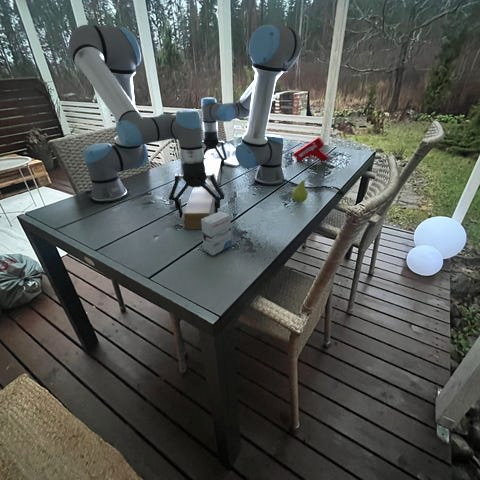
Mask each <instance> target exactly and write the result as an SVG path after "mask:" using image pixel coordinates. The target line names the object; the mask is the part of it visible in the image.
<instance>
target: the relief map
mask: <svg viewBox="0 0 480 480" xmlns="http://www.w3.org/2000/svg"><path fill="white" fill-rule="evenodd" d="M224 148H225V151H226V155H227V160H224V165H226V166H227V165H228V166H232V167H238V166H241V165H240V164H239V163H238V161H237V159H236V156H235V149H236V147H234V145H233V144H232V143H227V142H226V143H224ZM218 149H219V150H220V152H221V154H222V156H223V157H224V154H223V151H222V147H221V145H219V146H218ZM205 159H221V158H220V156H219V155H218V153H217V151H216V150H215V149H208V150H207V152H206V154H205V156H204V159H203V160H205Z"/></svg>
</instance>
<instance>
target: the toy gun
mask: <svg viewBox="0 0 480 480" xmlns="http://www.w3.org/2000/svg"><path fill="white" fill-rule="evenodd" d="M324 145H325V143H324V141H323V140H322V138H321V137H320V136H317V137H316V138H314V139H313V140H311V141H310V142H308V143H306V144H305V145H303V146H302V147H301V148H299V149H298V150H296V151H295V152H294V153H293V156H294V158H295V160H296V162H301V161H302V160H304V159H306V158H309V160H310V159H314V158H317V159H318V160H319V161H321V162H320V163H321V164H324V162H322V161H325V160H326V162H328V158H329V155H328V154H327V153H325V152H324V151H323V150H322V148H323V147H324Z"/></svg>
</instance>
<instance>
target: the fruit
mask: <svg viewBox="0 0 480 480" xmlns="http://www.w3.org/2000/svg"><path fill="white" fill-rule="evenodd" d="M310 177H311V175H310V174H309V175H308V176H307V177H305V179H302V180H301V181H300V182H298V183H297V184H298V186H295V187H294V188H293V190H292V191H291V198H292V200H293V201H294V202H295V203H297V204H301V203H304V202H305V201H306V200H307V198H308V196H309V195H308V189H306V188H305V186H306V184H305V183H306V180H308V179H309V178H310Z"/></svg>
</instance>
